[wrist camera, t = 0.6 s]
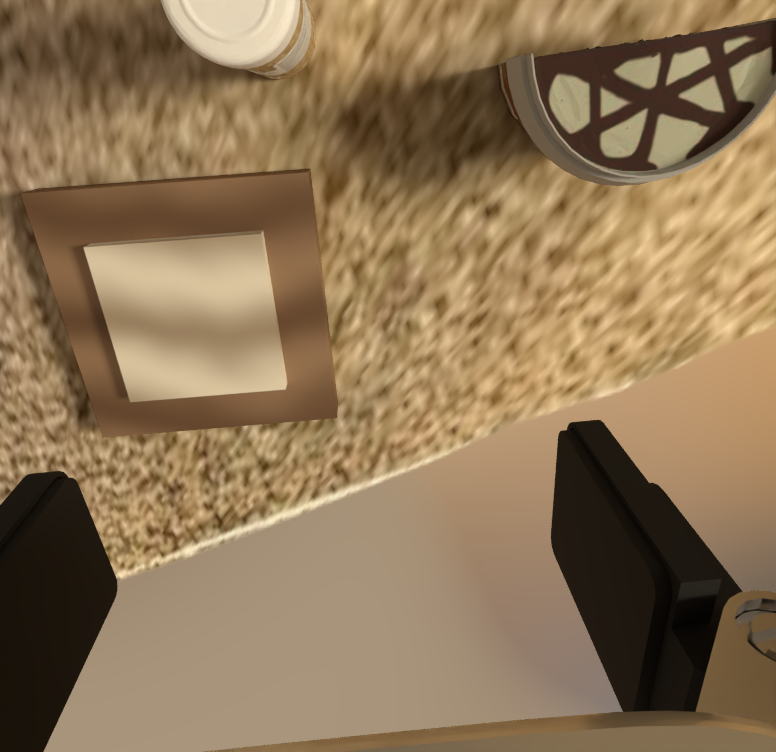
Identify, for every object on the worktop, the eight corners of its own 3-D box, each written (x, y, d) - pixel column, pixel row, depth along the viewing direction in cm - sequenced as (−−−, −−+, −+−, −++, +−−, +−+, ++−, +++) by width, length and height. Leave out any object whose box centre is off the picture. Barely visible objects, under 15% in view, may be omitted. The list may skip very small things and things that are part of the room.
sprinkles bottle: (216, 39, 30) (126, -3, 18) (263, -40, 29) (199, -143, 17) (287, 99, 32) (246, 96, 20) (335, 25, 30) (323, -26, 18)
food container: (477, 182, 34) (522, 210, 25) (470, 68, 32) (517, 55, 23) (678, 152, 34) (793, 170, 25) (688, 36, 32) (822, 9, 23)
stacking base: (38, 188, 33) (10, 196, 30) (310, 168, 33) (306, 174, 31) (114, 422, 40) (96, 445, 37) (337, 403, 40) (336, 425, 38)
